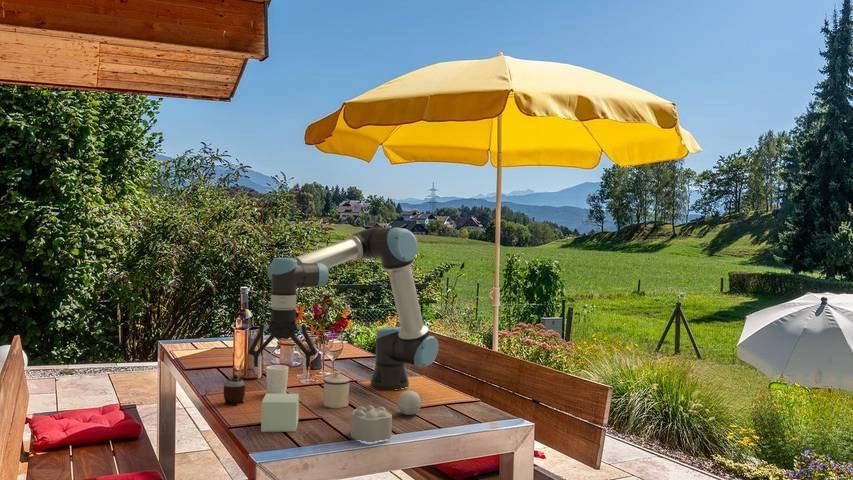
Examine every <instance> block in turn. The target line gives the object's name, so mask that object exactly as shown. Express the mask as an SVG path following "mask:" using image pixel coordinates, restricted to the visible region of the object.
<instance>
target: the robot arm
mask: <svg viewBox="0 0 853 480" xmlns="http://www.w3.org/2000/svg"><path fill="white" fill-rule="evenodd" d="M418 248H419V247H418V241H417V238H416V236H415V235H414V233H413V232H412V231H410V230H409V229H407V228H402V227H381V226H379V227H378V226H377V227H376V226H375V227H371V228H370V227H369V228H367V229H363V230H360V231H358V232H356V233H353V234H349V235H347V236H346V237H345V239H344V240H341V241H338V242H335V243H332V244H329V245H326V246H323V247H321V248H318V249H315V250H312V251H311V250H310V251H309V252H306V253H303V254H301V255H298V256H295V257H275V258H273V259H272V262H270V264H269V265H268V267H267V277H268V279H269V280H270V282H271V283H270V284H271V291H270V292H271V293H270V307H271V310H270V324H266V323H264V322H263V323H261V324H260V325H259V330H258V332H257V334H256V337H255V339H254V341H253V342H252V344H251V347H250V348H249V350H248V352H247V354H248V355H249V356H250V355H251V356H253V358H254V359H253V361H254V362H253V366H254V367H255V368H257V379H261V377H262V357H263V355H260V354H261V353H262V352H263V351H264V350H265V349H266V347H267V346H268V345H270V343H271V342H272V341H273V339H277V340H283V339H284V340H289V339H291V340H292V341H293V342H294V344H296V345H297V347H298V348H299V349H300V350H301V352H302V353H303V360H302V367H303V369H302V372H303V373H302V378H303V379H306V378H307V368H309V367H310V366H311V356H314V355H316V354H317V350H316V347H315V345H314V343H313V342H312V339H311V337H310V335H309V333H308V331H307V324H306V323H302V324H297V320H296V319H297V318H296V317H297V316H296V315H297V310H296V307H297V289H301V288H319V287H322V286H325V285H326V284H327V283H328V280H329V278H330V277H329V274H330V272H329V269H330V268H333V267H336V266H338V265H341V264H344V263H346V262H349V261H354V262H356V261H359V260H363V259H374V260H375V259H376V260H381V266H382V269H384V270H385V271H387V272H388V278H389V282H390V287H391V291H392V295H393V299H394V305H395V308H396V314H397V316H398V317H397V318H398V322H399V325H400V326H393V327H391V326H390V327H383V328H382V327H381V328H379V329H377V331H376V336H375V361H374V362H375V364H374V370H373V372H372V375H371V377H370V380H369V381H370V383H369V386H370V387H371V388H372V389H375V390H378V389H379V390H380V391H388V390H394V391H396V390H395V389H401V388H405V387H408V386H410V385H409V384H410V381H409V376H408V372H407V370H406V364H409V365H413V366H416V367H423V368H424V367H428V366H430V365H432V364H433V362H434V361H435V360H436V358H437V355H438V354H439V353H438V352H439V342H438V341H439V340H438V339H437V338H436V337H435V336H434V335H431V334H430V330H429V327H428V326H427V325H426V324H424V321H423V316H422V311H421V306H420V302H419V297H418V292H417V289H416V283H415V279H414V273H413V269H412V265H413V264H414V262H415V257H416V256H417V251H418V250H419V249H418ZM268 329H269V331H270V333H271V334H270V336H269V337H267V338H266V339H265V340H264V341H263V343H262V344H261V346H260V347H259V348H258V349H256V347H257V346H258V344H259V342H260V340H261V338H262V336H263V335H264V332H267V330H268ZM297 330H299V332H300V333H301V334H302V336H303V338H304V339H305V342H306V344H307V346H305V344H304V343H303V342H302V340H300V338H299V337H298V336H297V334H296V333H295V332H296V331H297ZM307 347H308V348H309V349H308V348H307ZM255 349H256V350H255ZM408 388H409V387H408Z"/></svg>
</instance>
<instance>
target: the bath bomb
mask: <svg viewBox="0 0 853 480" xmlns="http://www.w3.org/2000/svg"><path fill="white" fill-rule="evenodd" d="M397 407H398V410H399V411H400V412H401V413H402V414H404V415H405V416H413V415H416V414H417V413H418V412H419V411H420V409H421V407H422V399H421V396H420V395H419V394H418V393H417V392H416V391H414V390H405V391H403V392H402V393H401V394H400V395H399V396H398V398H397Z"/></svg>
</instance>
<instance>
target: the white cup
mask: <svg viewBox="0 0 853 480" xmlns="http://www.w3.org/2000/svg"><path fill="white" fill-rule="evenodd" d="M289 368H290V367H289V366H288V365H283V364H274V365H273V364H272V365H268V366H266V367H265V369H266V371H265V372H266V391H267V392H266V394H287V388H288V382H289V381H288V380H289V378H288V377H289Z"/></svg>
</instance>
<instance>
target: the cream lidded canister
mask: <svg viewBox="0 0 853 480" xmlns="http://www.w3.org/2000/svg"><path fill="white" fill-rule="evenodd" d="M350 382H351V380H350V378H349V377H347V376H346V375H345V376H344V375H343V374H341V372H340V371H337V370H336V371H334V372H333V374H331V375H329V376H326V377H324V379H323V406H324V407H326V408H329V409H341V408H347V407H348V406H349V403H350V400H349V398H350Z"/></svg>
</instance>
